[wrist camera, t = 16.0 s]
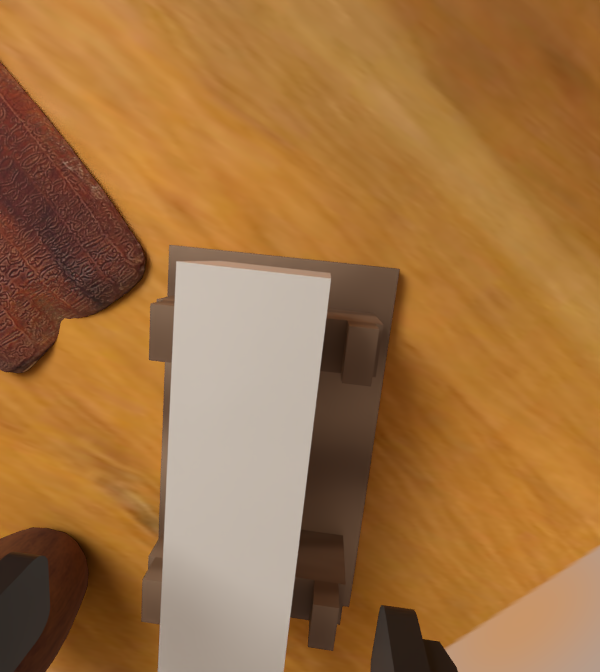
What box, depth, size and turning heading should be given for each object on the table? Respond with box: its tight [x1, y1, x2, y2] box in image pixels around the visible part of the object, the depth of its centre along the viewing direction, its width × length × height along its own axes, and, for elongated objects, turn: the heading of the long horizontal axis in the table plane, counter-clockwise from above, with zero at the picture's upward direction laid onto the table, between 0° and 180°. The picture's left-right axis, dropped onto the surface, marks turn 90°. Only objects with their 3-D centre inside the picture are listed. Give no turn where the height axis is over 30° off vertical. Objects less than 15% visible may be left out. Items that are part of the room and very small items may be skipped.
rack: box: [141, 245, 400, 651], centre depth 17 cm, size 17×10×5 cm, turn 174°
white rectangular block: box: [158, 261, 331, 672], centre depth 14 cm, size 16×4×4 cm, turn 174°
